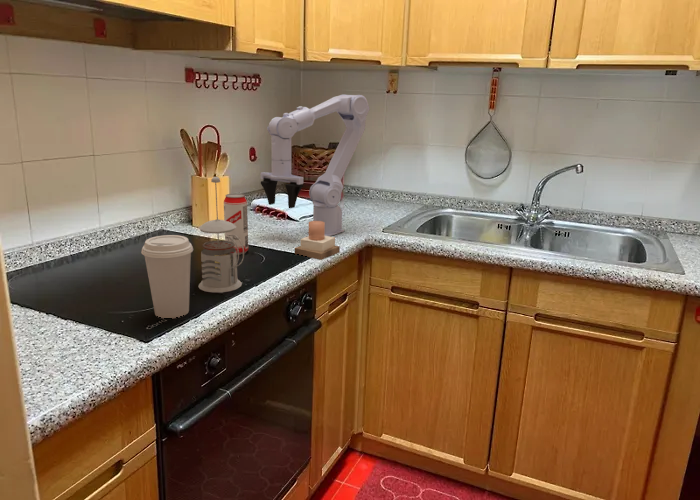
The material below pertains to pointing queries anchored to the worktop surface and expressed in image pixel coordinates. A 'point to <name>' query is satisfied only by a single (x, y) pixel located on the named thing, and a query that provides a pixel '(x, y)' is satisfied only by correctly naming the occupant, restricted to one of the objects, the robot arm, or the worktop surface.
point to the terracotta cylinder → (316, 230)
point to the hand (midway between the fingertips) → (281, 205)
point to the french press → (224, 275)
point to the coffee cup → (169, 274)
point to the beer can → (237, 220)
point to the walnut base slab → (317, 252)
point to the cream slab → (318, 244)
